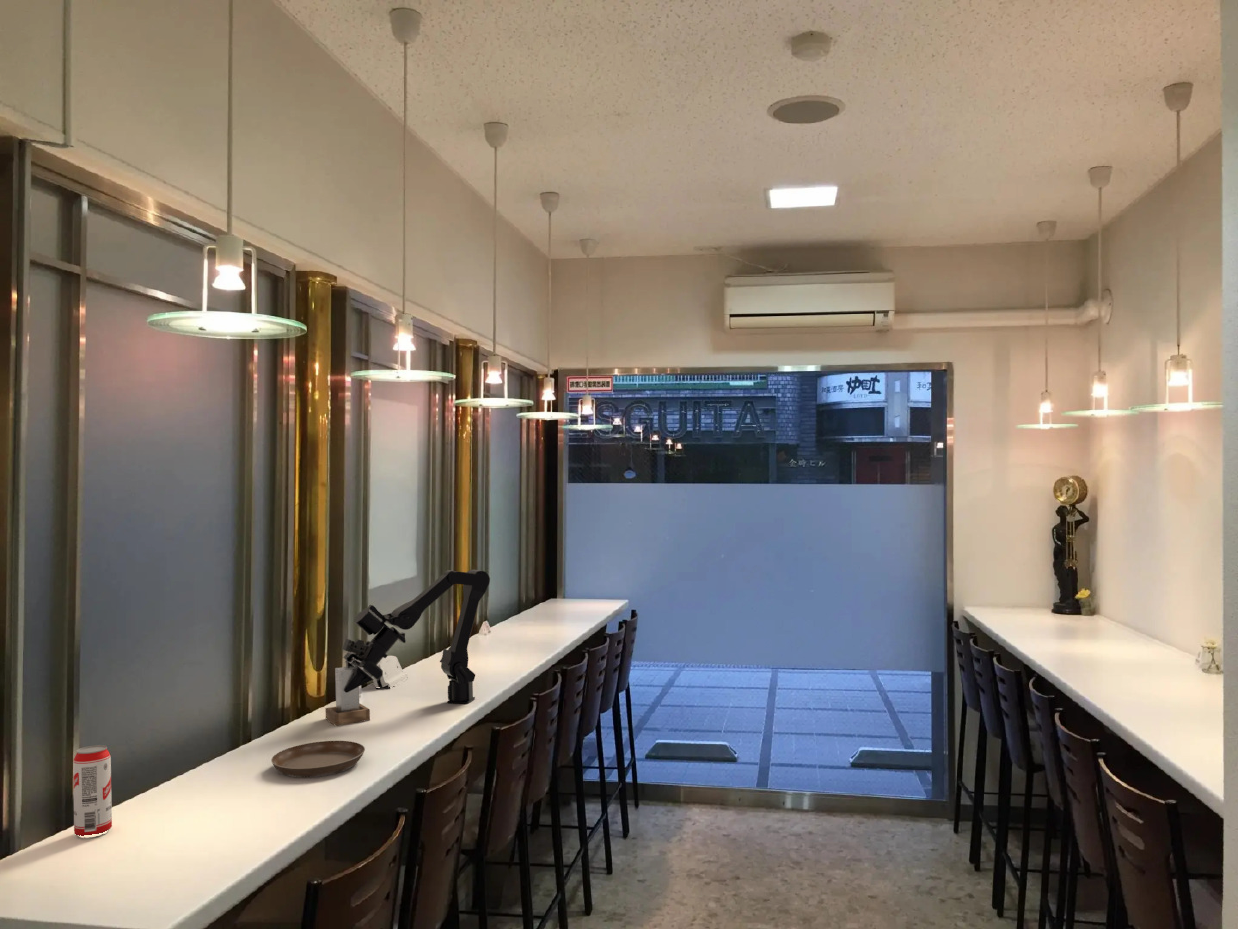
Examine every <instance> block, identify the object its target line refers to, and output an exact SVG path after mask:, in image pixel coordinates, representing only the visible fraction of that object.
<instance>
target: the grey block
mask: <svg viewBox="0 0 1238 929" xmlns="http://www.w3.org/2000/svg"><path fill="white" fill-rule="evenodd" d="M334 670H335V671H334V675H335V676H334V678H335V679H334V680H335V707H336V713H343V712H350V711H356V710H360V709H359V703H360V686H359V687H357V688H355V689H353V690H351V691H349V692H348V693H346V692H345V691H344V689H345V687H346V686H347V684H348V683H349V681H350V680H351V678H352V677H353V675H354V674H355V667H354V666H348V667H346V666H342V667H335V668H334Z"/></svg>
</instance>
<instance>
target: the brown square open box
mask: <svg viewBox="0 0 1238 929" xmlns="http://www.w3.org/2000/svg"><path fill="white" fill-rule="evenodd" d="M359 709H360V710H356V711H350V712H343V713H336V706H330V707H325V719H326V718H327V719H328V720H329V721H330V722H329V721H328V720H327V719H326V720H327V721H328V722H329V723H331V724H332V725H334V724H335V725H337V726H341V725H340V724H343V725H348V724H349V725H350V724H354V722H355V723H360V722H359V721H362V722H365V721H364V720H368V721H371V711H370V708H369V707H367V706H366V705H364V704H361V703H360V702H359ZM335 725H334V726H335Z"/></svg>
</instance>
